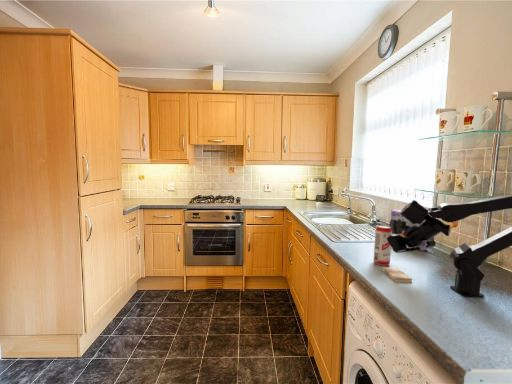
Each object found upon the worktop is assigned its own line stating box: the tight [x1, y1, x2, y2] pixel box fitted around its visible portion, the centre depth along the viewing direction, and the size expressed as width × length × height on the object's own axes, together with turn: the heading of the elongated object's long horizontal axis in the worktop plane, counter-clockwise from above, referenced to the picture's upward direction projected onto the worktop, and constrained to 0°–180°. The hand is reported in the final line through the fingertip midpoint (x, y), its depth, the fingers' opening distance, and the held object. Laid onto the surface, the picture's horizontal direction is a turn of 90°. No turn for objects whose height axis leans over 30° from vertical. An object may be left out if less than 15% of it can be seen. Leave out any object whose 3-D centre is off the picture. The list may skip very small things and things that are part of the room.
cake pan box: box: [388, 209, 428, 251], centre depth 135 cm, size 19×5×18 cm, turn 23°
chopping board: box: [381, 266, 413, 283], centre depth 99 cm, size 10×6×1 cm, turn 179°
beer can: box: [373, 224, 392, 267], centre depth 110 cm, size 6×6×16 cm
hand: (396, 251), depth 103 cm, fingers closed
